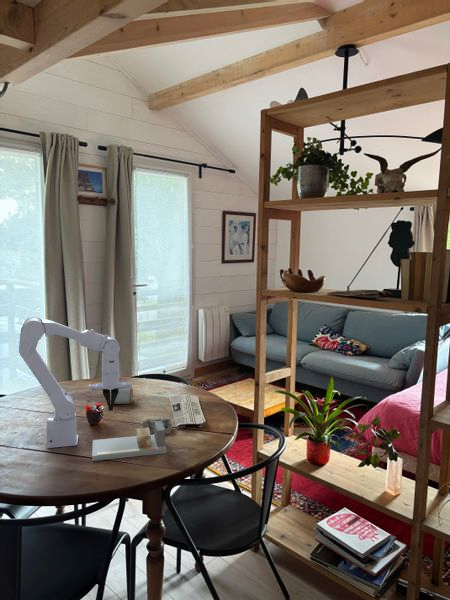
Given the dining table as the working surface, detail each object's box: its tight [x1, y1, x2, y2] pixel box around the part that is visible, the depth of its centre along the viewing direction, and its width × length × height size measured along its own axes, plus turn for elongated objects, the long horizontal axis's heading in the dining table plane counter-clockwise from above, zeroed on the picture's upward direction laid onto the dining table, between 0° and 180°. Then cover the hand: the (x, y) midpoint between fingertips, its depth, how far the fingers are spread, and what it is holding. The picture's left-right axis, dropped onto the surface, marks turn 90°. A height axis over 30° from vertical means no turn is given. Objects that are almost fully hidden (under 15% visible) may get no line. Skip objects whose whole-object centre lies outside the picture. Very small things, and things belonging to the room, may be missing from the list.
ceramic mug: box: [114, 387, 134, 405], centre depth 189 cm, size 11×8×8 cm
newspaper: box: [168, 393, 206, 429], centre depth 178 cm, size 35×12×4 cm, turn 11°
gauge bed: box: [91, 421, 167, 462], centre depth 144 cm, size 23×12×7 cm, turn 106°
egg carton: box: [141, 417, 173, 435], centre depth 160 cm, size 11×8×4 cm
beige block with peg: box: [136, 427, 152, 448], centre depth 145 cm, size 4×9×4 cm, turn 16°
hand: (110, 409), depth 154 cm, fingers closed
